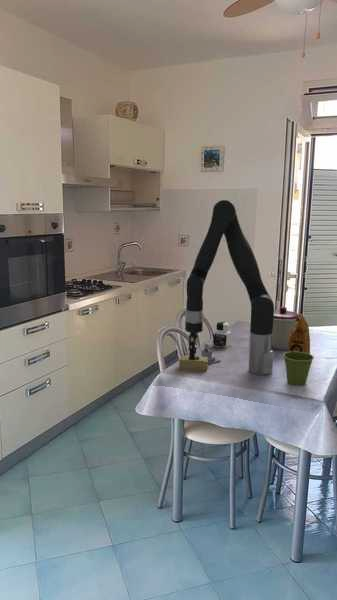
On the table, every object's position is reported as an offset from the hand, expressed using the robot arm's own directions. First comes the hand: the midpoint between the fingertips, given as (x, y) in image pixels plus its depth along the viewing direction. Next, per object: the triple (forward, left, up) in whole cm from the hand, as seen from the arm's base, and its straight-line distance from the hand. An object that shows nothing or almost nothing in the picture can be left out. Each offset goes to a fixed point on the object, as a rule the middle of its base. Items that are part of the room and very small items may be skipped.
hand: (192, 356), depth 201 cm
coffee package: (-23, -42, -6) cm, 49 cm away
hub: (+4, -11, -5) cm, 13 cm away
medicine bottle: (+18, -34, -6) cm, 39 cm away
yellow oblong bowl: (0, 0, -5) cm, 5 cm away
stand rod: (0, 0, -5) cm, 5 cm away
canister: (-2, -56, -6) cm, 57 cm away
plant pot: (-38, -22, -6) cm, 45 cm away
